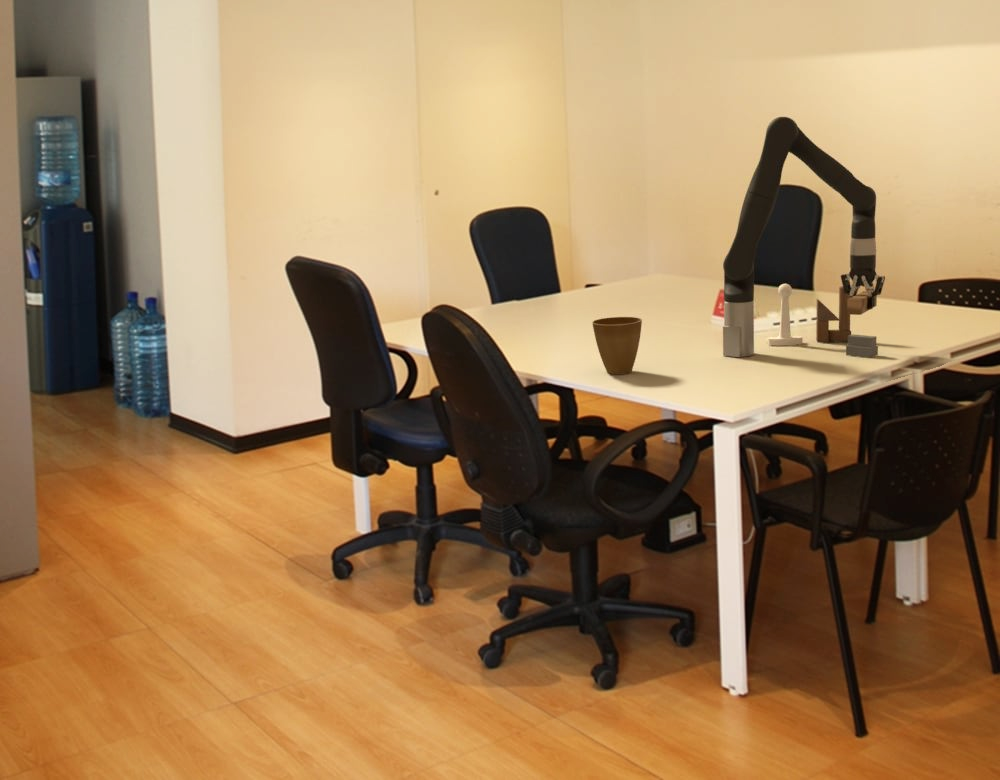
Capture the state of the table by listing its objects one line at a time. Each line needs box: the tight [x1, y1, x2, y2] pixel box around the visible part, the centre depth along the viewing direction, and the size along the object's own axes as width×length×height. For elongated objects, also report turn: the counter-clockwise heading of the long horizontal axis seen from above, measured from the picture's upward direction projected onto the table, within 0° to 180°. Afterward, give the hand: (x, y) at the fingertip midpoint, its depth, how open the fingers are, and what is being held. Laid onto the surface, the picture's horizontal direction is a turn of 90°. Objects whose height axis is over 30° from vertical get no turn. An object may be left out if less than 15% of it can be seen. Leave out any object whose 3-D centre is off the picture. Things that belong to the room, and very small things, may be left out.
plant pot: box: [591, 316, 643, 375], centre depth 377 cm, size 15×15×16 cm
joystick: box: [766, 283, 803, 346], centre depth 408 cm, size 11×8×20 cm
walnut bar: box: [847, 290, 878, 316], centre depth 382 cm, size 18×4×4 cm, turn 148°
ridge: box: [845, 333, 879, 359], centre depth 385 cm, size 5×8×6 cm, turn 45°
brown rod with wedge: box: [815, 285, 852, 343], centre depth 408 cm, size 4×11×18 cm, turn 82°
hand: (862, 308), depth 382 cm, fingers closed on walnut bar, 4 cm apart
